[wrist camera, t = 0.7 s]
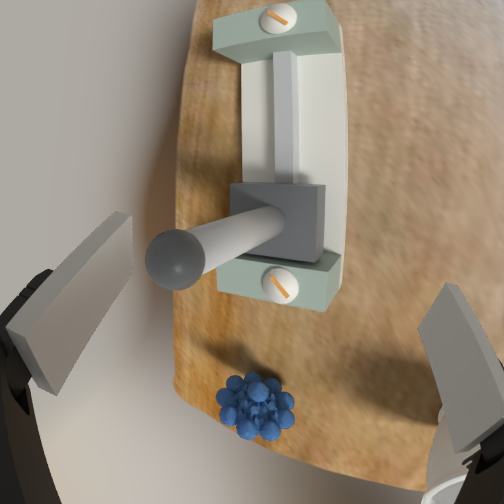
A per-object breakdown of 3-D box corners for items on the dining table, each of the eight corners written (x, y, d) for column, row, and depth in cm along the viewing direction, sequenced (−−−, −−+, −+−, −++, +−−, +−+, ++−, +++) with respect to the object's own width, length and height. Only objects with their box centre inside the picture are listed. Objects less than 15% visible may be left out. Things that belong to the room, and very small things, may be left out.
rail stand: (247, 40, 32) (210, 17, 25) (341, 27, 26) (321, -6, 19) (249, 270, 40) (214, 292, 33) (341, 284, 35) (323, 314, 28)
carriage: (244, 181, 33) (101, 203, 17) (325, 184, 29) (219, 207, 13) (245, 244, 35) (115, 307, 19) (323, 254, 31) (226, 346, 15)
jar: (466, 442, 30) (463, 522, 17) (417, 423, 33) (402, 509, 21) (512, 394, 26) (528, 478, 13) (461, 371, 29) (468, 463, 16)
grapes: (317, 372, 39) (283, 432, 29) (306, 404, 41) (273, 461, 31) (243, 344, 44) (194, 390, 34) (239, 377, 46) (194, 423, 36)
